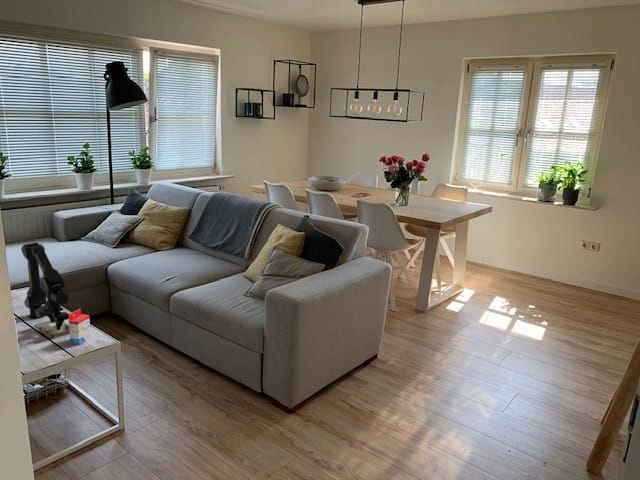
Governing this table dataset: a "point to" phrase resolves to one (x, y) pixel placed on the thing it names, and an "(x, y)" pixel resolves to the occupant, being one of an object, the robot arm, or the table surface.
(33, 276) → the robot arm
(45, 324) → the mat
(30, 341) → the table surface
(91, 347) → the table surface
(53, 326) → the sage block
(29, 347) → the table surface
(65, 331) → the frame
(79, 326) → the ink box
